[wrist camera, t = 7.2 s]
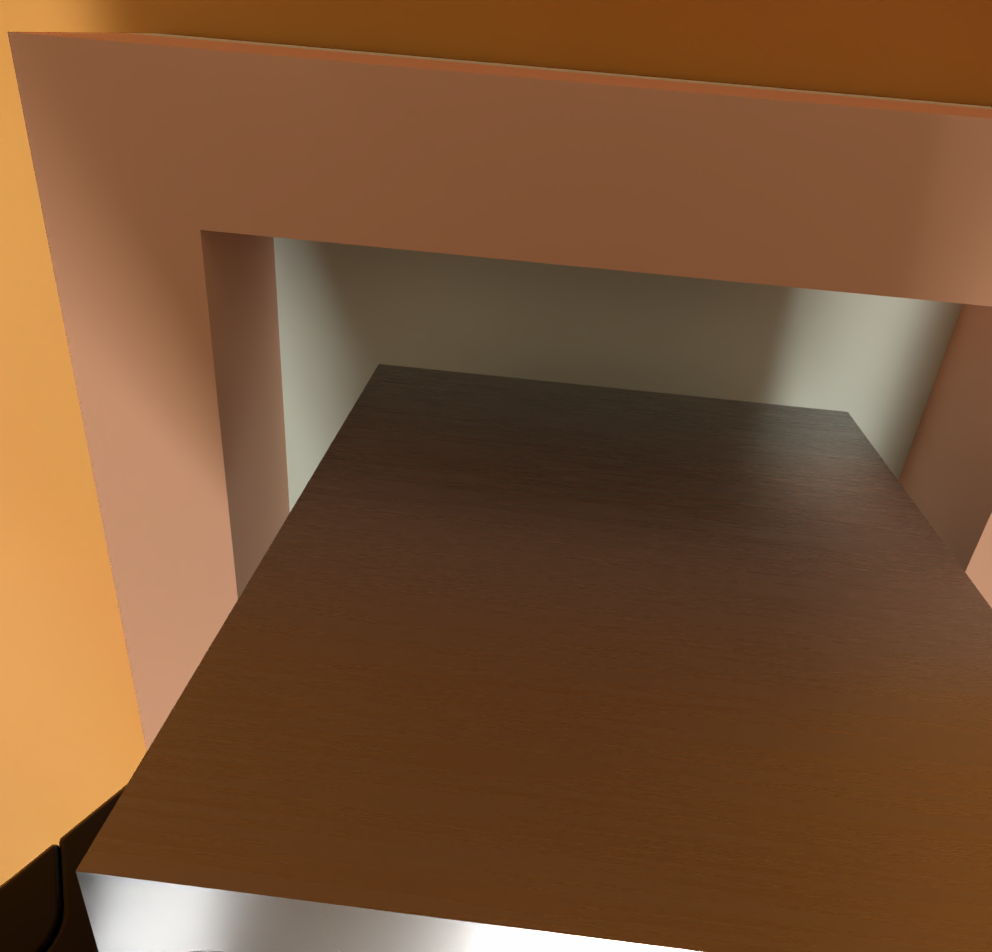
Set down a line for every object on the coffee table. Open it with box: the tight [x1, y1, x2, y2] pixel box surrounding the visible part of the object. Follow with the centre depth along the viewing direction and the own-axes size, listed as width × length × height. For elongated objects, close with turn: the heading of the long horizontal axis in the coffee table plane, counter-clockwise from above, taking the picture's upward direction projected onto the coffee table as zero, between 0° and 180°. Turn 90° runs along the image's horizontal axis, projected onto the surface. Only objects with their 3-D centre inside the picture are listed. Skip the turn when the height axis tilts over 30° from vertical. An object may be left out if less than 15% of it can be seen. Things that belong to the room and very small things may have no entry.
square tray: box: [8, 32, 992, 751], centre depth 11 cm, size 11×12×3 cm
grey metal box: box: [76, 364, 992, 952], centre depth 7 cm, size 5×6×6 cm
